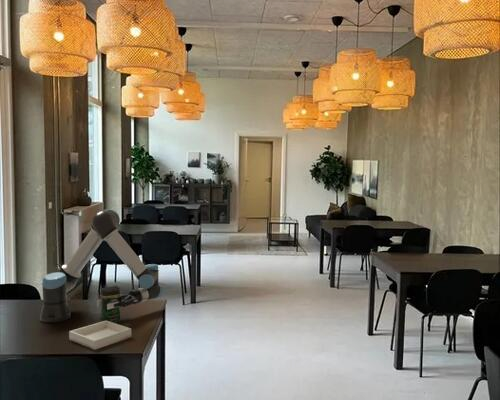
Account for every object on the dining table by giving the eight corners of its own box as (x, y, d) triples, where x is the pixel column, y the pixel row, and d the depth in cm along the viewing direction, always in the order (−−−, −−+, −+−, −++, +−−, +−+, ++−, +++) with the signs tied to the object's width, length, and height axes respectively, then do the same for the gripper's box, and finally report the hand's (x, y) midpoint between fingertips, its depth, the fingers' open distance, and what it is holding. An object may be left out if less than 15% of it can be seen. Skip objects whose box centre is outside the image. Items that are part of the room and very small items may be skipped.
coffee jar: (104, 326, 236) (103, 290, 235) (98, 322, 242) (98, 286, 241) (122, 322, 242) (122, 287, 241) (116, 318, 248) (116, 284, 247)
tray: (69, 339, 217) (69, 331, 217) (106, 328, 233) (105, 320, 233) (94, 349, 205) (94, 340, 205) (131, 337, 221) (131, 328, 221)
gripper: (150, 306, 250) (115, 316, 232) (126, 299, 262) (90, 308, 245) (150, 292, 249) (114, 301, 231) (126, 286, 262) (90, 294, 244)
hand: (102, 305), depth 238 cm, fingers closed on coffee jar, 8 cm apart
